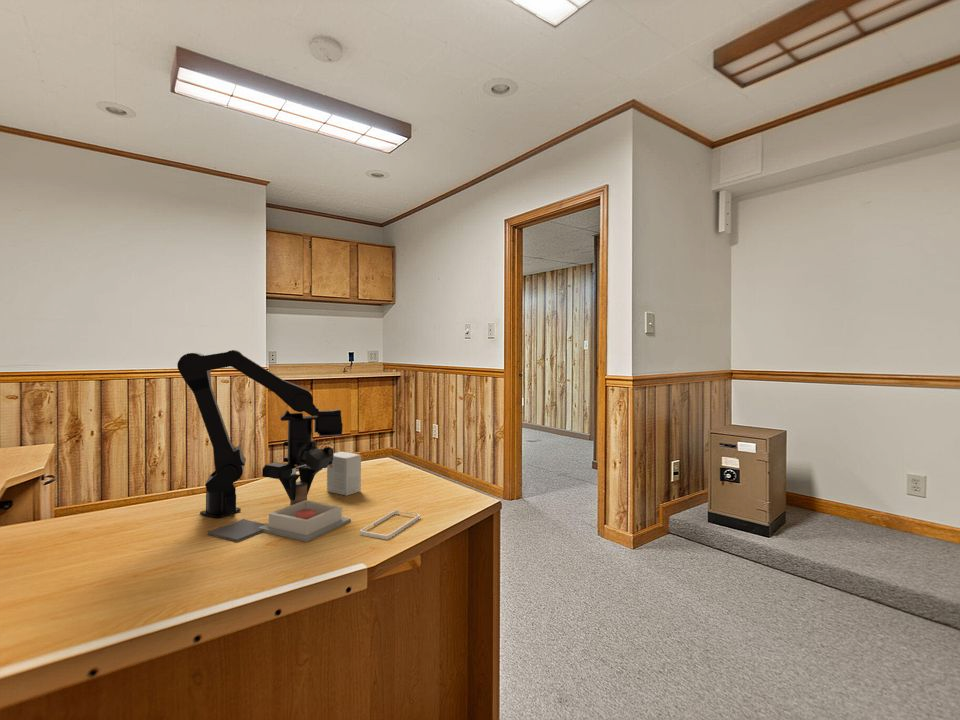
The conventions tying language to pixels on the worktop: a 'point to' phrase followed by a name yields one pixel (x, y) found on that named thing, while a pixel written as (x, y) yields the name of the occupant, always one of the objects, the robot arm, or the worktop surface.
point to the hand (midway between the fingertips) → (298, 498)
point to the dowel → (300, 492)
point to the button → (306, 513)
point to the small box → (344, 474)
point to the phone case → (391, 532)
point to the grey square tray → (305, 521)
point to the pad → (238, 530)
